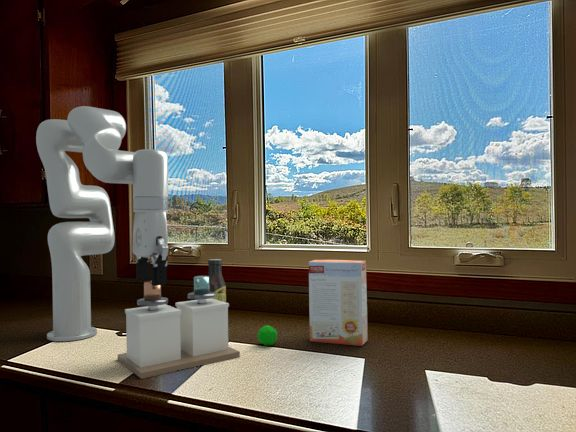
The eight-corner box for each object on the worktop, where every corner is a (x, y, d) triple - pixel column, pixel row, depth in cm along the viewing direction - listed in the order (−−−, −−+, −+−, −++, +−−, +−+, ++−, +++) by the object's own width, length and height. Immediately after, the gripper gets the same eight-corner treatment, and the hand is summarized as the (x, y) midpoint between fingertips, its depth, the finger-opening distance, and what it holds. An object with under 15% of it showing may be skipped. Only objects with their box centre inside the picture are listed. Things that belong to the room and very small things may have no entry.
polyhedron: (280, 343, 117) (280, 324, 117) (271, 348, 113) (271, 329, 113) (263, 341, 120) (263, 323, 120) (254, 346, 115) (253, 327, 115)
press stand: (117, 359, 106) (116, 307, 106) (208, 342, 120) (207, 295, 120) (141, 378, 93) (140, 319, 93) (239, 356, 107) (238, 305, 107)
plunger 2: (183, 336, 111) (182, 276, 111) (208, 332, 114) (207, 274, 114) (195, 342, 105) (194, 279, 105) (221, 337, 109) (220, 276, 109)
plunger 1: (133, 345, 103) (132, 281, 103) (162, 340, 107) (161, 278, 107) (143, 352, 98) (142, 284, 98) (173, 346, 102) (172, 281, 102)
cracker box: (368, 341, 119) (367, 259, 119) (362, 347, 113) (361, 262, 113) (316, 336, 124) (315, 258, 124) (309, 341, 118) (307, 260, 118)
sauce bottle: (221, 329, 133) (220, 260, 133) (201, 328, 134) (200, 260, 134) (229, 324, 139) (228, 258, 139) (209, 323, 140) (208, 258, 140)
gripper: (121, 205, 107) (122, 278, 108) (148, 205, 94) (148, 289, 94) (153, 205, 112) (153, 276, 112) (182, 205, 98) (182, 285, 98)
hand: (151, 282), depth 103 cm, fingers open, 9 cm apart
